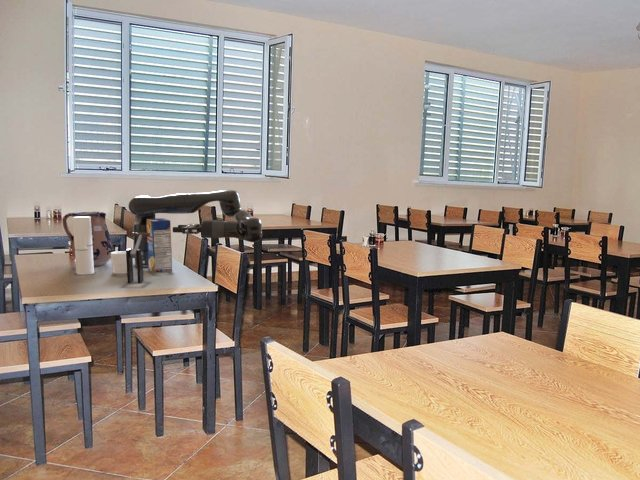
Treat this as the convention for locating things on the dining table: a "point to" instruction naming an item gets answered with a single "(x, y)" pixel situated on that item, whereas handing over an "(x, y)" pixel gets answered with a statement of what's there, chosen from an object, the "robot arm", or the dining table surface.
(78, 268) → the cylindrical container
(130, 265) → the bracket
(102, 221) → the ceramic pitcher
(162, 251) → the juice carton
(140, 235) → the lever
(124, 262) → the white cup
